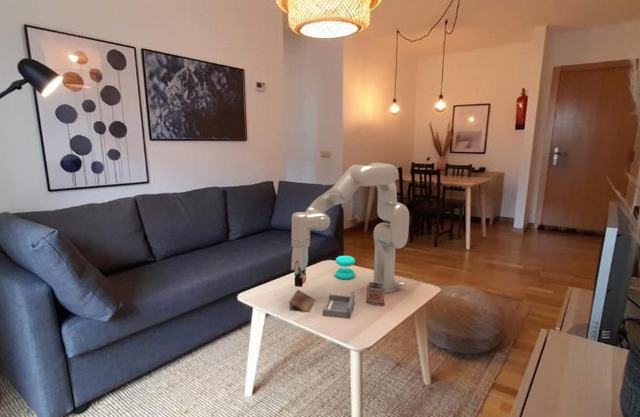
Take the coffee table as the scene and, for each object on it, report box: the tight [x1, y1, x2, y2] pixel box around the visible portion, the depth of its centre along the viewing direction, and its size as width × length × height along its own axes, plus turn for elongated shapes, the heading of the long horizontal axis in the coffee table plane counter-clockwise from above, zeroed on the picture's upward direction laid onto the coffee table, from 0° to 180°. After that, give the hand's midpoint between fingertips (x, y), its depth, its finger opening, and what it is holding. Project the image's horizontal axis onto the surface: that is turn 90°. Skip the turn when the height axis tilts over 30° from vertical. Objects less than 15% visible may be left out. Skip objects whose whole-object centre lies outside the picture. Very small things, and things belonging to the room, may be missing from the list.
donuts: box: [335, 255, 356, 280], centre depth 182 cm, size 10×10×10 cm
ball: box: [294, 273, 307, 285], centre depth 148 cm, size 5×5×5 cm
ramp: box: [288, 289, 316, 313], centre depth 150 cm, size 9×12×5 cm
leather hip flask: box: [365, 280, 385, 307], centre depth 151 cm, size 8×3×10 cm, turn 70°
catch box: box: [322, 292, 355, 320], centre depth 147 cm, size 11×15×4 cm
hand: (300, 283), depth 149 cm, fingers closed on ball, 4 cm apart
